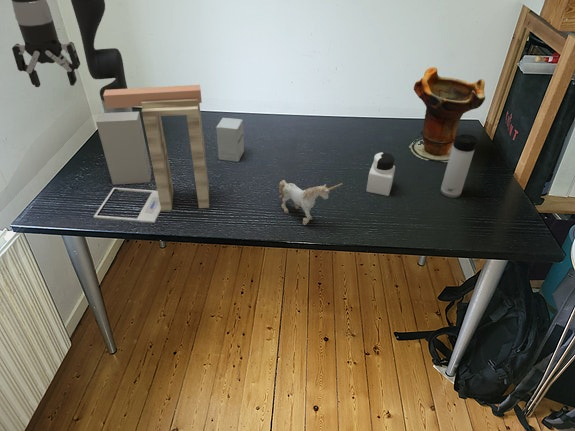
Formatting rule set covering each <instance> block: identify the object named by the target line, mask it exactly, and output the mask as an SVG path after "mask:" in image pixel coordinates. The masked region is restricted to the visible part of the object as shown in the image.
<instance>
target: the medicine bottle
mask: <svg viewBox="0 0 575 431" xmlns="http://www.w3.org/2000/svg"><path fill="white" fill-rule="evenodd" d="M394 164H395V156H393V155H392V154H391V153H389V152H384V151H383V152H382V151H381V152H378V153H376V154H375V155H374V157H373V162H372V165H371V168H370V169H369V173H368V179H367V183H366V190H365V191H366V192H367V193H370V194H371V193H373V194H375V195H381V196H386V197H388V196H389V197H390V192H391V190H392V186H393V181H394V176H395V171H396V166H395V165H394Z"/></svg>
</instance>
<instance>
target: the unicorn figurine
mask: <svg viewBox="0 0 575 431" xmlns="http://www.w3.org/2000/svg"><path fill="white" fill-rule="evenodd" d="M342 185H343V182H342V183H339V184H336V185H334V186H331V187H326V186H327V184H326V183H325V184H324V185H320V186H319V185H318V186H313V187H309V188H307V189H304V190H303V189H301V188H300V187H298V186H297V185H296V183H292V182H291V183H287V182H286V180H285V179H283V180H281V181H280V182H279V184H278V188H279V193H280V195H279V196H278V199H282V203H281V208H282V210H283V212H284V213H285V214H288V213H290V211H289V209H288V207H287V205H286V202H287V201H288V200H289V199H291V200H292V202H293V204H294V209H295V210H299V209H300V207H301V208H302V210H303V212H304V215H305V217H303V218H302V225H304V226H306V225H307V224H309V222H310V220H311V221H312V220H313V217H312V215H311V214H310V213H311V209H312V208H313V207H314V206H315V204H316V199H317V198H318V197H319V196H320V197H321V198H322V199H323V200H327V199H329V194H330V191H332V190H335V189H337V188H338V187H340V186H342Z"/></svg>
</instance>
